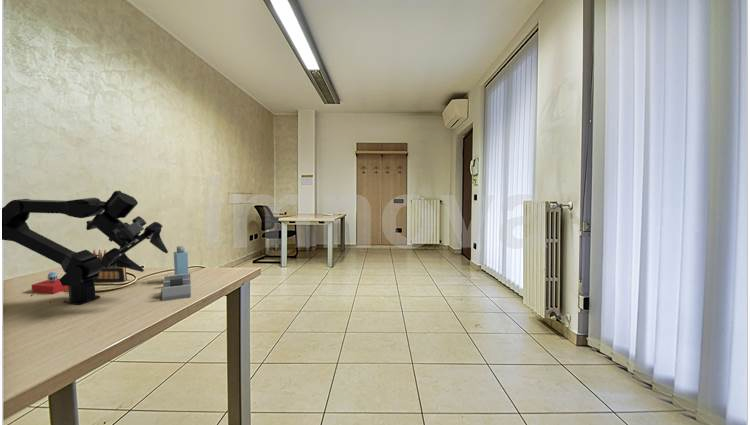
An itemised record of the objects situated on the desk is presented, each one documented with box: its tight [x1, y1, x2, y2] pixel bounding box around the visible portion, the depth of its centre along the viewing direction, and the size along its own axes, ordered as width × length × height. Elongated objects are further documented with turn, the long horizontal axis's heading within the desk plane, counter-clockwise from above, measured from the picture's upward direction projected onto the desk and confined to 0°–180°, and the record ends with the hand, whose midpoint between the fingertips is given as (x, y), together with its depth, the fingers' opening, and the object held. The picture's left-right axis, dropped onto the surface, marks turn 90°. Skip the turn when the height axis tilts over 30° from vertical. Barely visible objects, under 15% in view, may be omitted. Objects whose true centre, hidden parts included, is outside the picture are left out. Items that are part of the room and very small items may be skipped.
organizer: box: [161, 272, 192, 302], centre depth 116 cm, size 8×14×6 cm, turn 29°
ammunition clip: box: [92, 249, 128, 283], centre depth 123 cm, size 11×2×12 cm, turn 98°
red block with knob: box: [31, 271, 68, 295], centre depth 114 cm, size 8×7×6 cm
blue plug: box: [173, 245, 189, 275], centre depth 126 cm, size 4×4×13 cm
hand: (155, 261), depth 107 cm, fingers open, 9 cm apart
